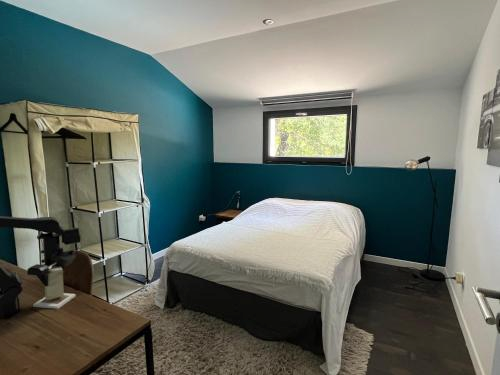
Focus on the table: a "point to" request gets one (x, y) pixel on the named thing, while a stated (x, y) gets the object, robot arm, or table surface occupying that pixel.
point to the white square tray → (54, 301)
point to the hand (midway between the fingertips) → (53, 281)
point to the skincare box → (54, 283)
